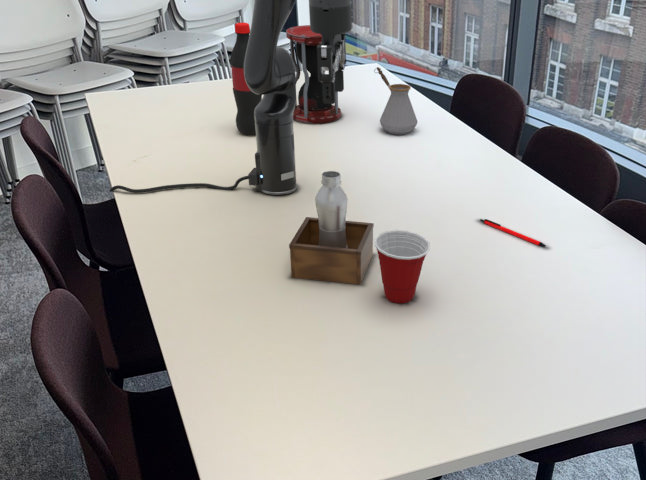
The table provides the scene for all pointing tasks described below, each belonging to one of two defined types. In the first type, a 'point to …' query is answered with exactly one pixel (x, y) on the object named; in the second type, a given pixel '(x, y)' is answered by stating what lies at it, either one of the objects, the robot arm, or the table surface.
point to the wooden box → (331, 253)
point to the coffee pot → (398, 109)
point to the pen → (512, 232)
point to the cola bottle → (243, 83)
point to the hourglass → (310, 79)
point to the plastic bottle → (331, 211)
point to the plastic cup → (400, 263)
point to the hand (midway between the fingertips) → (333, 97)
